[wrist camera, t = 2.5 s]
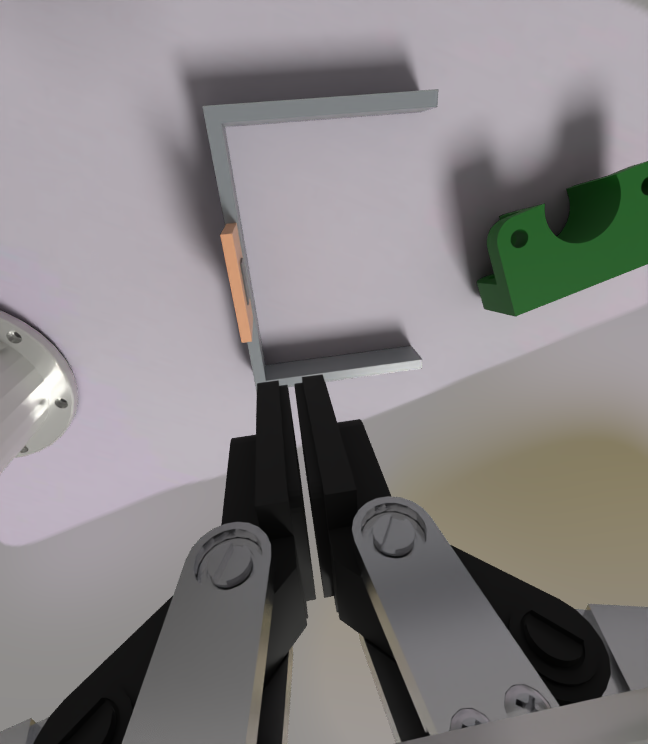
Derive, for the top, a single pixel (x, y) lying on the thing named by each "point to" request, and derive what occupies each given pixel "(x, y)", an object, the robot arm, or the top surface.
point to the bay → (234, 240)
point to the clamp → (568, 244)
